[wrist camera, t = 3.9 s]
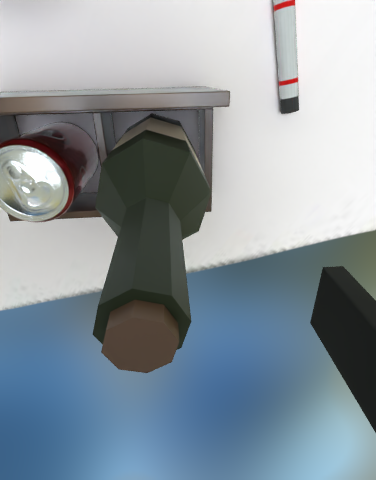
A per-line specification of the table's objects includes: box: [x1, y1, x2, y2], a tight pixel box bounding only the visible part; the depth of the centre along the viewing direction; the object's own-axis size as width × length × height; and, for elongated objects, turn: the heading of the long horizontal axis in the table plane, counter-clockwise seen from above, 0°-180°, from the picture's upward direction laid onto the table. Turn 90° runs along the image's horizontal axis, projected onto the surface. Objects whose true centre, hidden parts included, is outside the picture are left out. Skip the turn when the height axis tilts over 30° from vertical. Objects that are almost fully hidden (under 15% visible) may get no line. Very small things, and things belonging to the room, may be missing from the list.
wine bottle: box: [93, 113, 212, 373], centre depth 23 cm, size 8×8×30 cm
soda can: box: [0, 122, 98, 222], centre depth 30 cm, size 7×7×12 cm
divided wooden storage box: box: [0, 87, 230, 221], centre depth 29 cm, size 22×12×14 cm, turn 91°
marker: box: [273, 0, 299, 114], centre depth 30 cm, size 15×2×2 cm, turn 13°
